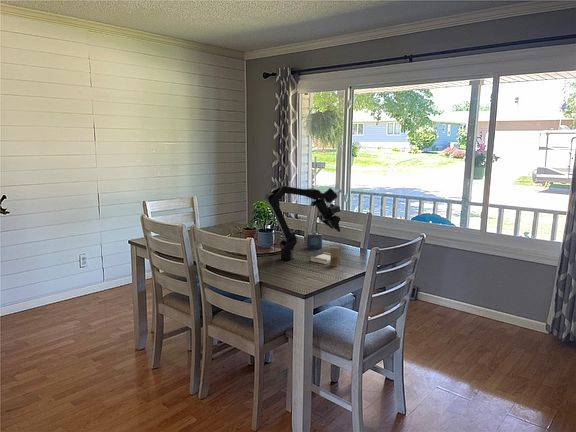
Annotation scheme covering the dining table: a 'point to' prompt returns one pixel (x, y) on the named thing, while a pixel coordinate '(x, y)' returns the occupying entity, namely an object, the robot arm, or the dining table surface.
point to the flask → (314, 241)
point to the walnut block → (335, 256)
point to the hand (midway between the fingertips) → (336, 229)
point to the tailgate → (322, 258)
